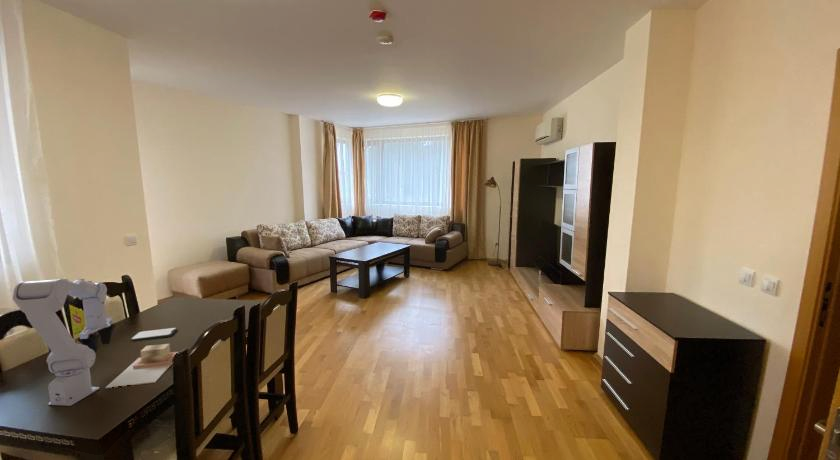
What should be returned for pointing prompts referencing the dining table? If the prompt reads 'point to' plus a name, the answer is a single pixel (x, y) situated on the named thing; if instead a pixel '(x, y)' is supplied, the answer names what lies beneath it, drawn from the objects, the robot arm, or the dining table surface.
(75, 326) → the food package
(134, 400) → the dining table surface
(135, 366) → the frame
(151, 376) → the mat
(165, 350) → the block
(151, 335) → the phone case
